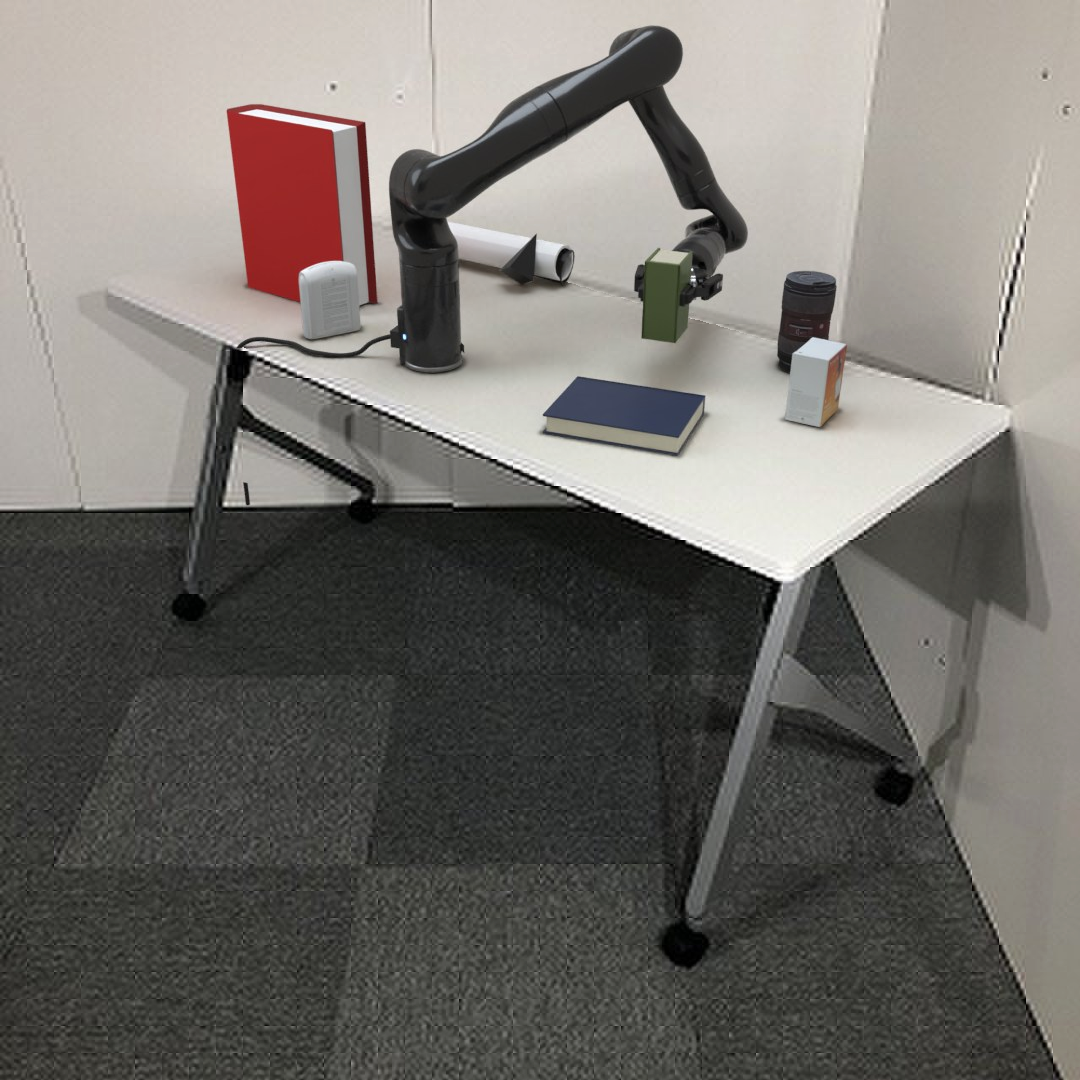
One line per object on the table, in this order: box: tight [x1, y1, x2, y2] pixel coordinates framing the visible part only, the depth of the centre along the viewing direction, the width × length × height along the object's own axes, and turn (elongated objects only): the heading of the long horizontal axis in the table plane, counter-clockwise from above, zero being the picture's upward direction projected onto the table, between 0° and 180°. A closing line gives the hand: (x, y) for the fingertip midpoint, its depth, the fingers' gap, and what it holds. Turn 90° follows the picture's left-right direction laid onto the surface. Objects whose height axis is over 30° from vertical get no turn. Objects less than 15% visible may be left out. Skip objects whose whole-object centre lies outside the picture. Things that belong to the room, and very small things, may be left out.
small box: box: [784, 337, 848, 428], centre depth 175 cm, size 8×6×10 cm
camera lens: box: [776, 270, 838, 374], centre depth 190 cm, size 8×8×15 cm
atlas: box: [542, 375, 706, 457], centre depth 174 cm, size 20×15×3 cm
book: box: [226, 103, 378, 306], centre depth 216 cm, size 27×8×32 cm, turn 54°
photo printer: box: [299, 261, 362, 340], centre depth 203 cm, size 10×4×12 cm, turn 123°
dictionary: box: [640, 247, 693, 344], centre depth 180 cm, size 5×7×12 cm
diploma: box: [447, 220, 576, 286], centre depth 233 cm, size 35×9×14 cm
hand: (662, 297), depth 178 cm, fingers closed on dictionary, 5 cm apart
